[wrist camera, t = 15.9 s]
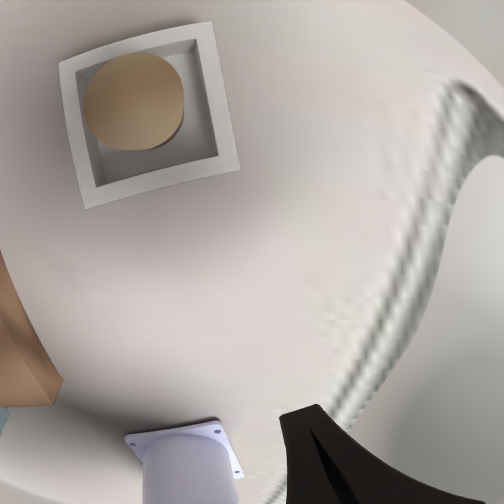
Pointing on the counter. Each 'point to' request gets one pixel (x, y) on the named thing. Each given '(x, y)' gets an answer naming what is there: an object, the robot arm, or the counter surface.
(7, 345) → the walnut slab
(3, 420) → the rail
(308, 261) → the counter surface
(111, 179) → the cradle
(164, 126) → the rounded wooden peg
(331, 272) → the counter surface
